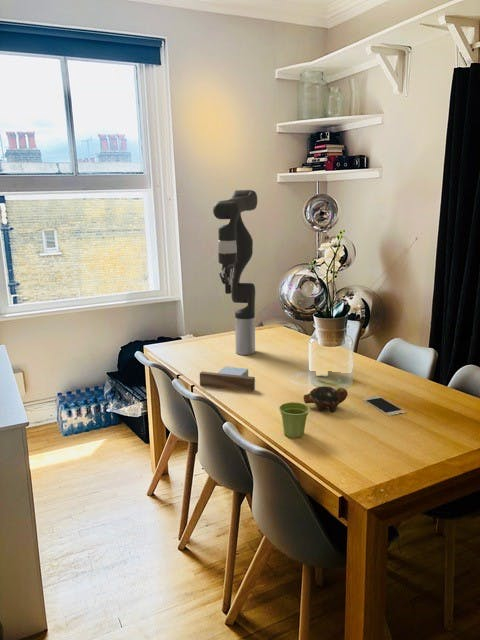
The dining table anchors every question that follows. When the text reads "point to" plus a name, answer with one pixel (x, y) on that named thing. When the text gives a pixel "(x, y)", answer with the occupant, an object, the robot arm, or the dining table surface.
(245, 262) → the robot arm
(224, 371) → the block
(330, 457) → the dining table surface
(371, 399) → the smartphone
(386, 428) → the dining table surface
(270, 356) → the dining table surface
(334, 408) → the decorative turtle
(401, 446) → the dining table surface
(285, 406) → the plant pot
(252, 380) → the board
